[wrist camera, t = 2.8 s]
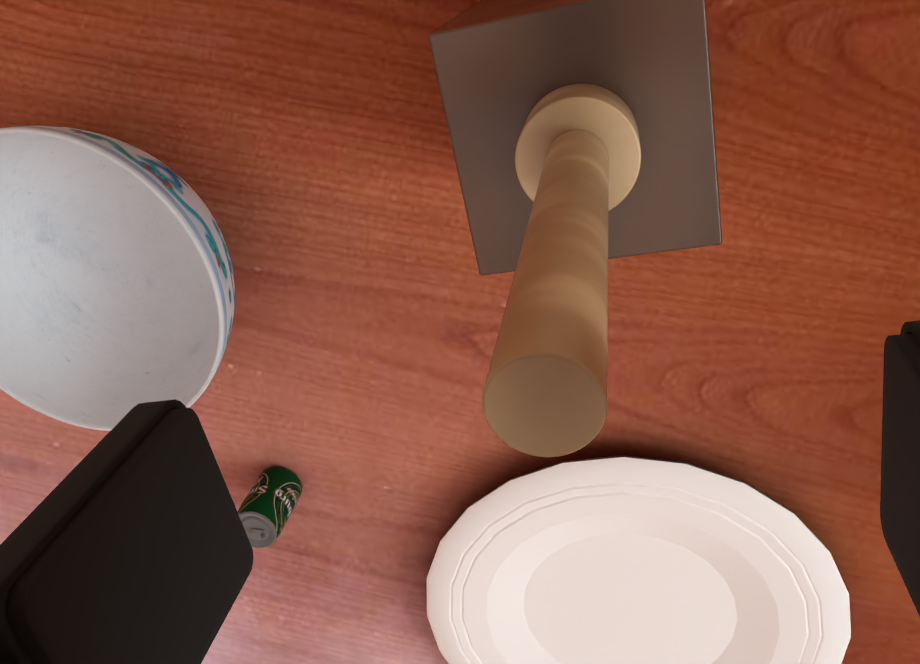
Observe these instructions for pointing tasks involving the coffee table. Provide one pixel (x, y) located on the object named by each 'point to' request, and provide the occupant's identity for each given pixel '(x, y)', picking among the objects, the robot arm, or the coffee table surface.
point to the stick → (562, 273)
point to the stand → (582, 62)
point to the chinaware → (105, 278)
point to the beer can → (269, 505)
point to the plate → (634, 572)
